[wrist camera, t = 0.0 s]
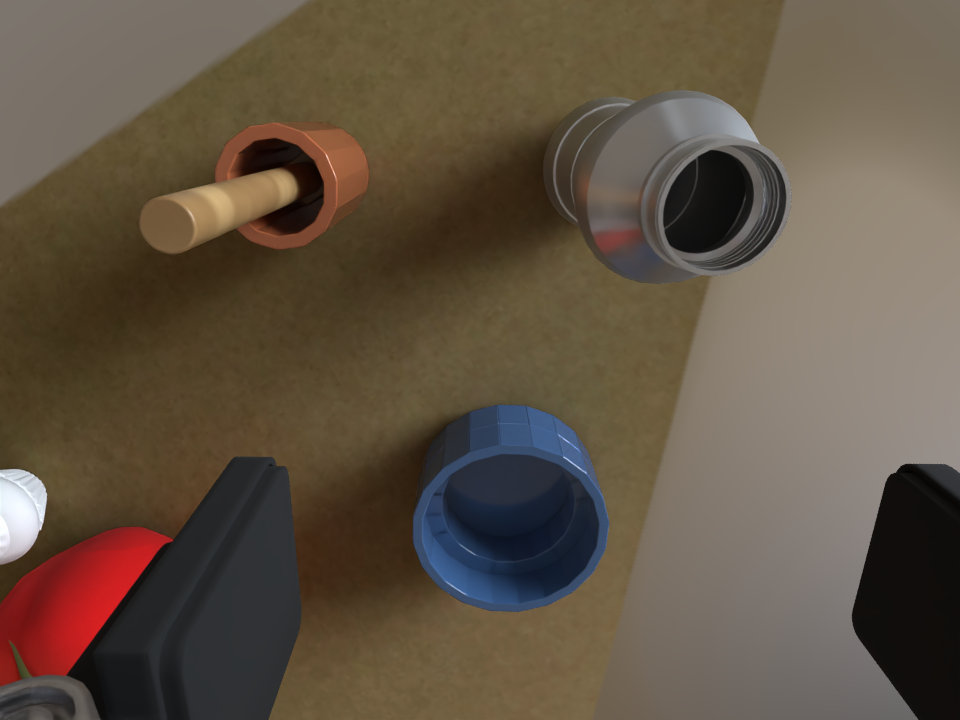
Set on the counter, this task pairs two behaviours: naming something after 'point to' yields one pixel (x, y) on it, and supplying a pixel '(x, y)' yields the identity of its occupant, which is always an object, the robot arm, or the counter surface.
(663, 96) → the silver metal bottle
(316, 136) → the crock
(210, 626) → the robot arm
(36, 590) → the tomato
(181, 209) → the stirring stick
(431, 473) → the bowl
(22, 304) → the counter surface
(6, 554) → the muffin
